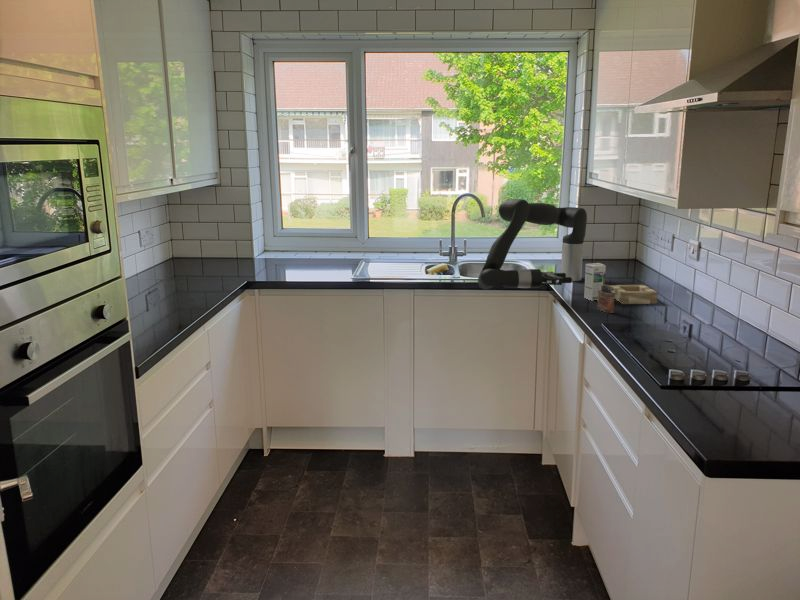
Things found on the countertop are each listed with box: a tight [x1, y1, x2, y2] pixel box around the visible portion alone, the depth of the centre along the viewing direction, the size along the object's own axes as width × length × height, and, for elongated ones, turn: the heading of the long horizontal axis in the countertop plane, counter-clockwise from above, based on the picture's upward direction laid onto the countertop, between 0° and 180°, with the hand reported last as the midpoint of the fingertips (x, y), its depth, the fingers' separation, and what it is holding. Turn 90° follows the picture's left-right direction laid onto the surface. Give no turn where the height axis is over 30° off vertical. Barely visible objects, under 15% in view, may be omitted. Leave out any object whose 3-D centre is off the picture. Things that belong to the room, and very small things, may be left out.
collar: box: [609, 284, 659, 305], centre depth 252 cm, size 14×14×4 cm
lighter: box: [596, 284, 615, 314], centre depth 235 cm, size 8×3×10 cm, turn 21°
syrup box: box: [583, 262, 607, 302], centre depth 253 cm, size 6×6×14 cm
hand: (568, 277), depth 252 cm, fingers open, 8 cm apart
